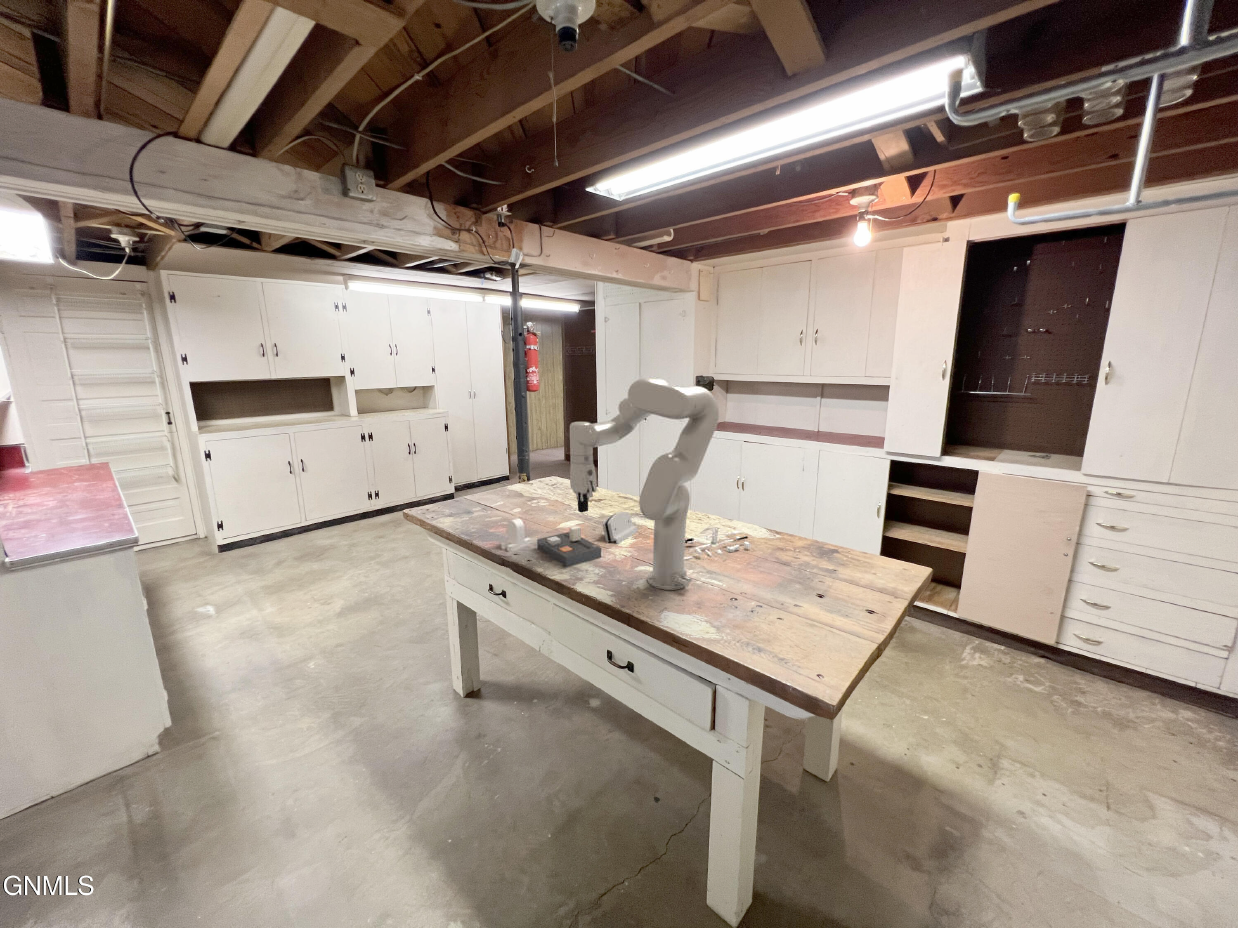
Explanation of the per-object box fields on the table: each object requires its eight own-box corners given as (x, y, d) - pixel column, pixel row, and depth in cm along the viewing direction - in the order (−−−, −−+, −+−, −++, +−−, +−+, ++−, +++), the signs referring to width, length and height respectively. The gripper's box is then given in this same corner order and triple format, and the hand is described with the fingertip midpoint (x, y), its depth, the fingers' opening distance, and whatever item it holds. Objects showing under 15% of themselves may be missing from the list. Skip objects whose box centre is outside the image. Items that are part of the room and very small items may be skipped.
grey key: (560, 545, 167) (560, 539, 167) (552, 548, 165) (552, 541, 165) (555, 542, 170) (555, 536, 169) (547, 545, 168) (547, 538, 167)
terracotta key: (573, 556, 161) (572, 549, 161) (564, 558, 159) (564, 551, 159) (567, 552, 164) (567, 546, 164) (558, 555, 162) (558, 548, 161)
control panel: (601, 557, 164) (601, 547, 163) (566, 567, 155) (566, 557, 154) (570, 540, 179) (570, 531, 178) (537, 548, 171) (537, 539, 170)
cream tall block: (580, 539, 169) (580, 527, 168) (573, 541, 167) (573, 529, 166) (577, 537, 171) (577, 525, 170) (569, 539, 169) (569, 527, 168)
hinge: (617, 544, 175) (609, 518, 175) (607, 546, 178) (599, 520, 177) (638, 530, 189) (631, 507, 189) (628, 532, 192) (621, 509, 191)
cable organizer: (531, 543, 175) (530, 517, 173) (510, 551, 168) (509, 525, 166) (521, 540, 179) (520, 515, 176) (500, 548, 171) (499, 521, 169)
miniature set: (739, 536, 183) (758, 552, 173) (657, 553, 171) (672, 571, 161) (740, 521, 181) (760, 536, 170) (658, 537, 169) (673, 555, 158)
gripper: (603, 460, 156) (604, 514, 159) (579, 454, 167) (580, 504, 171) (584, 463, 151) (586, 518, 155) (560, 457, 163) (562, 508, 166)
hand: (583, 511), depth 163 cm, fingers closed
